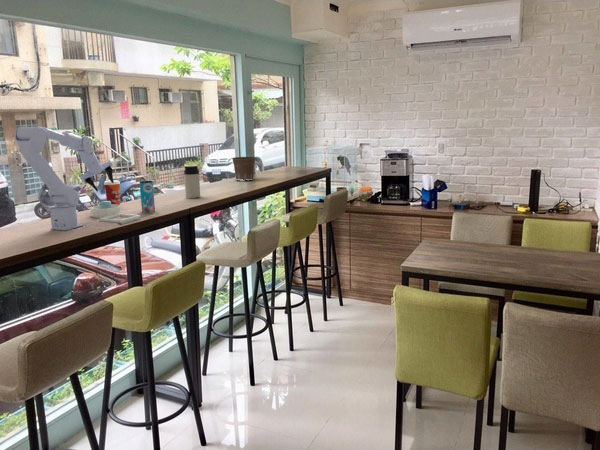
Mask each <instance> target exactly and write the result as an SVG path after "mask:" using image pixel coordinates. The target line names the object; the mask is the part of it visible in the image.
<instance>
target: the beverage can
mask: <svg viewBox="0 0 600 450" xmlns="http://www.w3.org/2000/svg"><path fill="white" fill-rule="evenodd" d="M154 191H155V190H154V182H153V180H140V181H139V193H140V205H141V212H142V213H144V214H145V213H146V214H147V213H154V212H156V206H155V195H154Z"/></svg>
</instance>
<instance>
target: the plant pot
mask: <svg viewBox="0 0 600 450" xmlns="http://www.w3.org/2000/svg"><path fill="white" fill-rule="evenodd" d="M231 159H232V164H233V168H234V176H235V180H236V179H243V180H246V179H253V180H254V173H255V172H254V171H255V170H254V169H255V162H256V160H255V159H256V157H255V156H238V157H237V156H236V157H231Z"/></svg>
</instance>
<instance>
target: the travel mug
mask: <svg viewBox="0 0 600 450" xmlns="http://www.w3.org/2000/svg"><path fill="white" fill-rule="evenodd" d="M183 166H184V171H183V173H184V174H183V176H184V187H185V189H184V190H185V198H187V199H197V198H196V197H199V198H200V197H201V187H200V186H201V183H200V170H199V169H198V166H199V164H184V165H183Z"/></svg>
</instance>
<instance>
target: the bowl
mask: <svg viewBox="0 0 600 450" xmlns="http://www.w3.org/2000/svg"><path fill="white" fill-rule="evenodd" d="M122 212H123V211H122V205H121V204H120V205H116V204H111V208H108V209H101V204H99V205H93V206H91V207H90V214H91V215H90V216H91V217H92V218H99V219H100V218H104V217H108V216H112V215H116V214H123V213H122Z"/></svg>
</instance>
